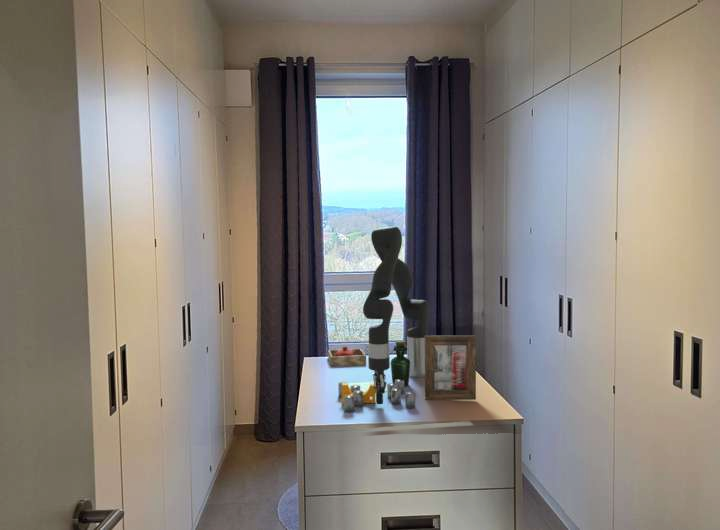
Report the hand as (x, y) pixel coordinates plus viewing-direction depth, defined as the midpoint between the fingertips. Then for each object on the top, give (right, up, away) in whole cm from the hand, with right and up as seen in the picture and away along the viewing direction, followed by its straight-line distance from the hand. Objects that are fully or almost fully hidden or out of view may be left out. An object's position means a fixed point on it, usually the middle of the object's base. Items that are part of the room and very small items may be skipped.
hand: (379, 403), depth 183 cm
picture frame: (+27, -1, +8) cm, 28 cm away
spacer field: (-1, -1, +7) cm, 7 cm away
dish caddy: (-13, +2, +67) cm, 68 cm away
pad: (-5, 0, +25) cm, 25 cm away
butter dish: (-14, +1, +67) cm, 68 cm away
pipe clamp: (-7, -1, +5) cm, 9 cm away
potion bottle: (+10, 0, +28) cm, 30 cm away
